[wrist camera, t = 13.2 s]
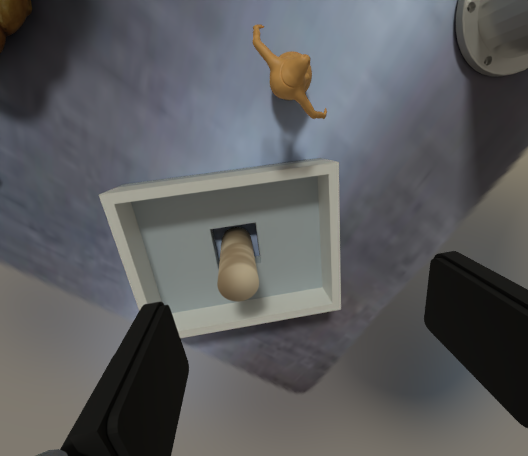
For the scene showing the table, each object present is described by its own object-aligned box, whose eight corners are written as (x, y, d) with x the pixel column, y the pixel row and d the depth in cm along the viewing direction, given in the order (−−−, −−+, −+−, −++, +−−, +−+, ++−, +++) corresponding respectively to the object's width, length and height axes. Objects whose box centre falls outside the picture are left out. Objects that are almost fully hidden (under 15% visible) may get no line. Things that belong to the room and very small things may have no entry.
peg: (248, 224, 31) (256, 262, 21) (252, 251, 32) (261, 297, 22) (219, 229, 30) (213, 269, 21) (224, 255, 32) (221, 304, 22)
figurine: (325, 99, 27) (392, 70, 16) (284, 140, 28) (319, 141, 17) (273, 29, 24) (308, -65, 13) (229, 77, 25) (228, 27, 14)
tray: (319, 158, 29) (338, 162, 24) (324, 284, 35) (340, 309, 30) (123, 184, 27) (98, 194, 22) (163, 311, 33) (150, 343, 28)
